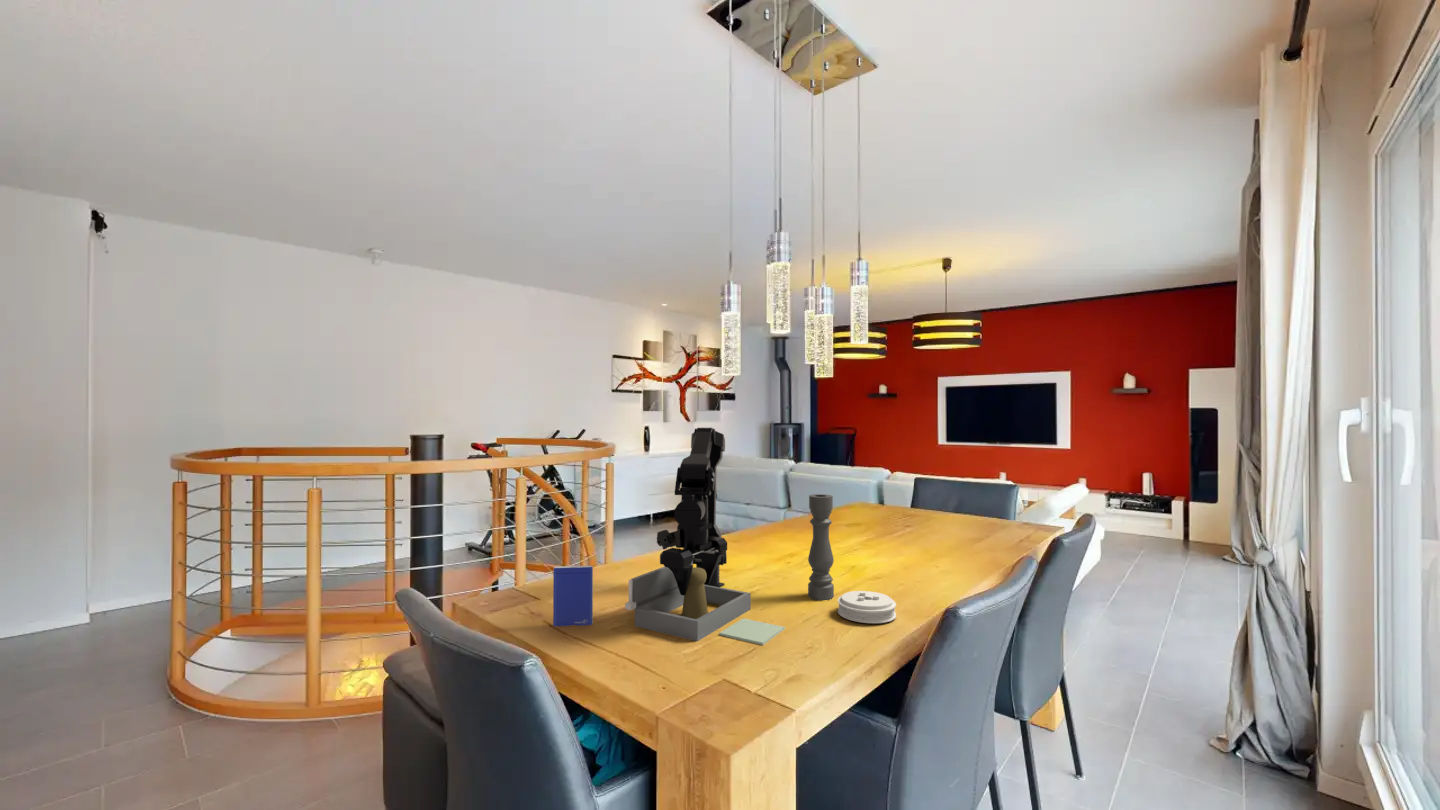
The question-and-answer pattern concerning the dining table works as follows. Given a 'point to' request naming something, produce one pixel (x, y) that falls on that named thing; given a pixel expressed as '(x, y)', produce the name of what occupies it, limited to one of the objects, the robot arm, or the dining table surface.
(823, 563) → the candle holder
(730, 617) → the equipment case
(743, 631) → the mat
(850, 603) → the lid
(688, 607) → the olive brown pawn
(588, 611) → the hard drive
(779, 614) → the dining table surface
